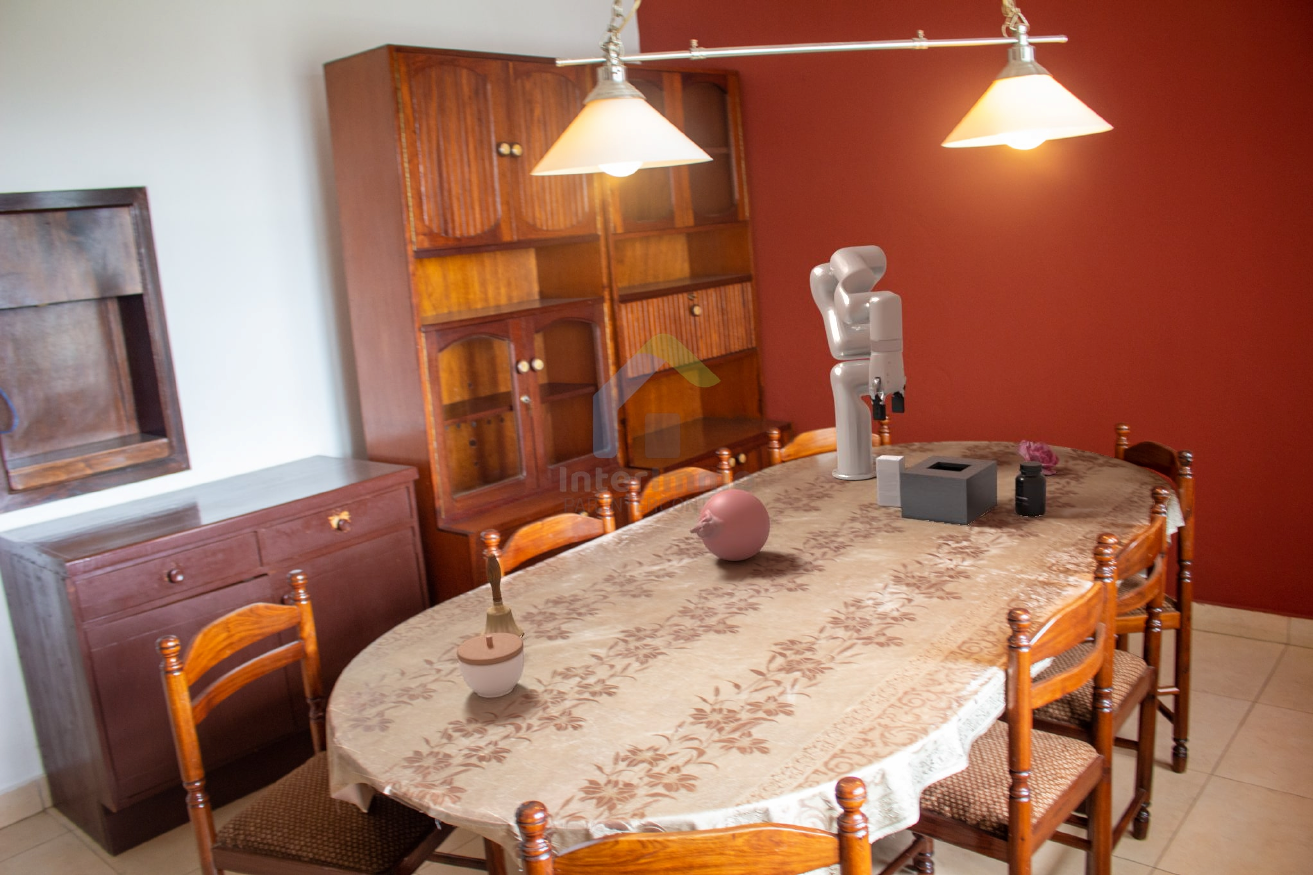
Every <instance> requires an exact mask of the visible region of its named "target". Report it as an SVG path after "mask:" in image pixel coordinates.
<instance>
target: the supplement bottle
mask: <svg viewBox="0 0 1313 875" xmlns="http://www.w3.org/2000/svg"><path fill="white" fill-rule="evenodd" d="M1019 469H1020V470H1019V472H1020V473H1018V474H1017V475H1016V476H1015V478H1014V511H1015V514H1016V513H1017V514H1016V515H1017V516H1020V515H1022V516H1021V517H1024V516H1028V517H1027V518H1036V517H1035V516H1039V515H1043V516H1044V515H1045V514H1046V511H1047V477H1046V476H1045V474H1042V473H1041V472H1042V463H1040V462H1036V461H1026V460H1024V461H1022V462H1020V463H1019Z"/></svg>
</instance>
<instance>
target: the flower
mask: <svg viewBox="0 0 1313 875" xmlns="http://www.w3.org/2000/svg"><path fill="white" fill-rule="evenodd" d="M1016 451H1017V453H1019V454H1020V456H1021V457H1023V458H1024V459H1025V461H1036V462H1040V463H1042V472H1041V474H1043V475H1049V476H1050V475H1053V474H1054V475H1055V474H1057V473H1056V472H1057V471H1056V470H1055V469H1053V468H1054V467H1056V466H1057V465H1059V462H1060V459H1059V457H1058V456H1057V454H1056V453H1054V452H1053V450H1051V447H1050V445H1048V444H1046V443H1045V441H1037V442H1036V443H1034V442H1033V441H1027V439H1022V440H1021V441H1020V443H1019V444H1018V445H1017V447H1016ZM1018 470H1019V471H1020V468H1019V469H1018Z"/></svg>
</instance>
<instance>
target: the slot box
mask: <svg viewBox="0 0 1313 875" xmlns="http://www.w3.org/2000/svg"><path fill="white" fill-rule="evenodd" d="M900 479H901V507H900V509H901V518H902V519H910V520H916V521H924V520H929V521H928V522H931V521H934V523H939V522H944V523H943V524H947V523H951V524H950V525H954V524H960V525H959V526H962V525H968V524H969V525H971V524H972V523H974V522H975V521H977V520H978V519H980V518H981V517H982V516H981V515H983V514H984V513H986V512H987V511H989V510H990V511H991V509H992V508H993V509H995V508H996V507H997V506H998V461H997V460H990V459H988V460H987V459H978V458H968V457H966V458H965V457H957V456H945V455H936V454H935V455H934V454H933V455H931V456H930V457H927V458H926V459H924V460H921V461H920V462H918V463H915V464H914V465H912V466H910V467H908V468H905V470H904V471H902V472H900ZM995 506H996V507H995ZM993 509H992V510H993ZM990 511H989V512H990ZM987 513H988V512H987ZM987 513H986V514H987ZM984 515H985V514H984ZM984 515H983V516H984ZM980 516H981V517H980ZM979 517H980V518H979ZM976 519H977V520H976ZM974 520H975V521H974ZM973 521H974V522H973ZM971 522H972V523H971ZM970 523H971V524H970ZM969 525H968V526H969Z"/></svg>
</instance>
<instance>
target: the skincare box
mask: <svg viewBox="0 0 1313 875" xmlns="http://www.w3.org/2000/svg"><path fill="white" fill-rule="evenodd" d="M905 462H906V461H905V456H904V455H882V454H881V455H880V456H878V458H877V459H876V461H875V464H876V465H875V466H876V470H877V476H876V489H877V491H876V492H877V493H876V494H877V506H881V507H892V508H893V507H894V508H901V479H900V472H902V471H904V470H906V465H905V464H906V463H905Z"/></svg>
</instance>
